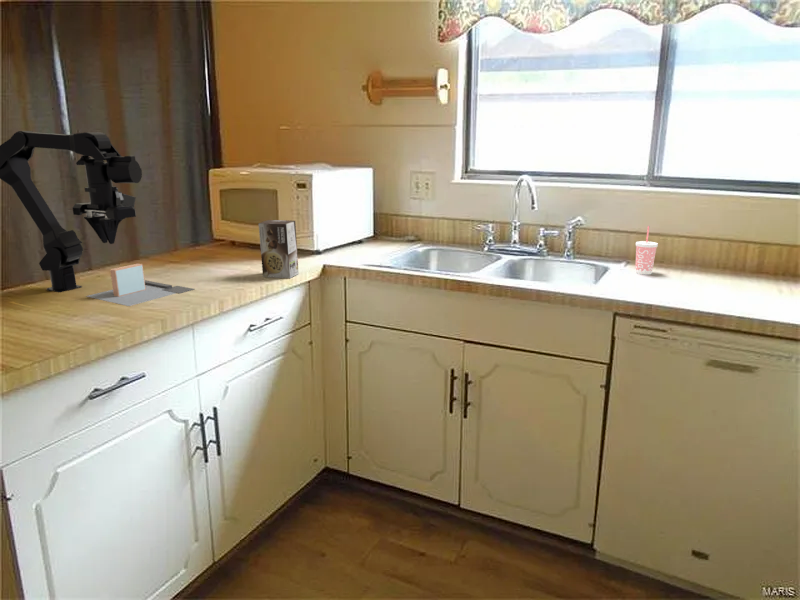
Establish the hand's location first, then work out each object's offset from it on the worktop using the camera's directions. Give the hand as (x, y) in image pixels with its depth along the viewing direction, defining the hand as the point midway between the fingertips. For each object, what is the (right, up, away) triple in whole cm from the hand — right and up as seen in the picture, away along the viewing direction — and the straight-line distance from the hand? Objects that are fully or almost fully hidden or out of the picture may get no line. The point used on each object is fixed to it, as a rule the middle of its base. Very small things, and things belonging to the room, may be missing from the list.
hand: (108, 243), depth 155 cm
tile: (+6, -13, 0) cm, 14 cm away
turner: (+12, -12, +6) cm, 18 cm away
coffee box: (+41, -8, +20) cm, 47 cm away
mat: (+7, -14, -1) cm, 16 cm away
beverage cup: (+150, -7, +21) cm, 151 cm away
